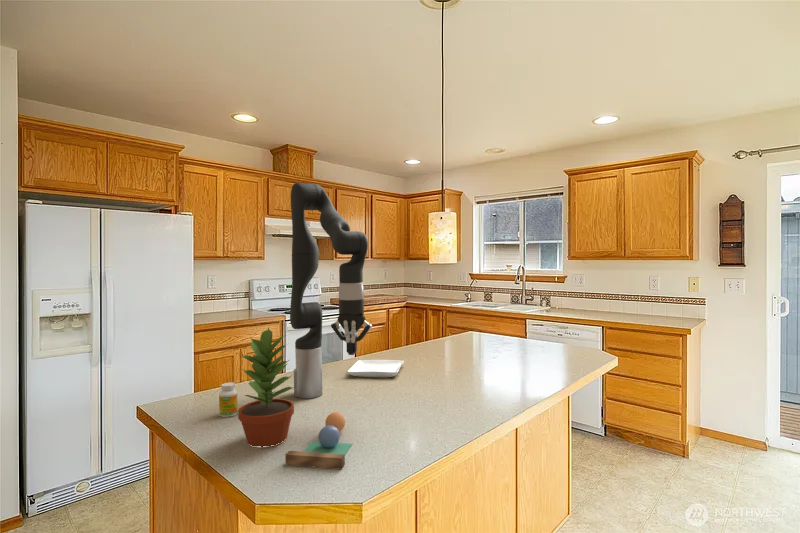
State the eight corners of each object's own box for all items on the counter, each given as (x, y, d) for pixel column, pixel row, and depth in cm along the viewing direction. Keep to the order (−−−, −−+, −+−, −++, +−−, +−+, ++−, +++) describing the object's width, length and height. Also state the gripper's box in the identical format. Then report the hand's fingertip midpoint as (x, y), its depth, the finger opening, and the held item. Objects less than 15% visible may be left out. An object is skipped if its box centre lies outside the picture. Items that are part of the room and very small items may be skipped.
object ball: (322, 444, 113) (314, 450, 107) (323, 422, 113) (315, 427, 108) (342, 445, 112) (335, 451, 106) (343, 423, 113) (336, 428, 107)
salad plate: (358, 366, 195) (358, 358, 194) (404, 367, 192) (404, 359, 192) (346, 379, 174) (346, 371, 174) (397, 380, 171) (397, 372, 171)
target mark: (295, 461, 103) (295, 460, 103) (312, 441, 113) (312, 441, 113) (338, 464, 101) (338, 463, 101) (352, 444, 111) (352, 443, 111)
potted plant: (240, 457, 105) (237, 336, 105) (237, 434, 119) (234, 327, 119) (301, 445, 111) (298, 331, 111) (291, 425, 125) (289, 323, 125)
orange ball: (332, 415, 124) (333, 435, 121) (321, 413, 120) (321, 433, 117) (348, 411, 122) (349, 431, 119) (337, 409, 118) (338, 430, 115)
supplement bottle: (220, 418, 131) (219, 387, 131) (218, 413, 136) (218, 383, 136) (238, 415, 134) (238, 384, 134) (236, 410, 139) (236, 380, 138)
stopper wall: (285, 464, 101) (285, 454, 101) (289, 460, 103) (289, 450, 103) (342, 469, 98) (341, 458, 98) (344, 465, 100) (344, 454, 100)
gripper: (325, 298, 126) (326, 356, 127) (369, 299, 123) (369, 358, 124) (334, 295, 133) (335, 350, 134) (375, 296, 131) (376, 352, 131)
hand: (351, 354), depth 129 cm, fingers closed
